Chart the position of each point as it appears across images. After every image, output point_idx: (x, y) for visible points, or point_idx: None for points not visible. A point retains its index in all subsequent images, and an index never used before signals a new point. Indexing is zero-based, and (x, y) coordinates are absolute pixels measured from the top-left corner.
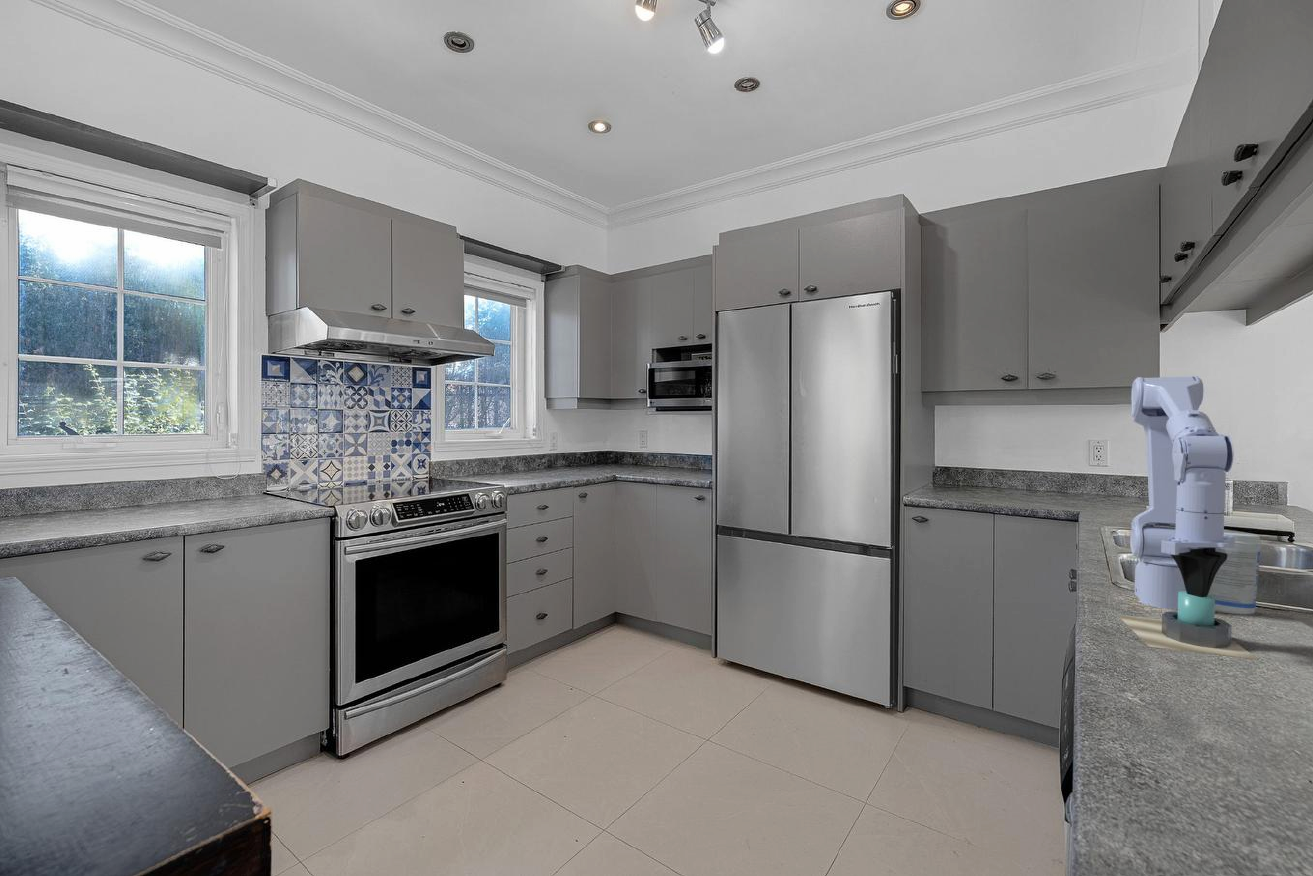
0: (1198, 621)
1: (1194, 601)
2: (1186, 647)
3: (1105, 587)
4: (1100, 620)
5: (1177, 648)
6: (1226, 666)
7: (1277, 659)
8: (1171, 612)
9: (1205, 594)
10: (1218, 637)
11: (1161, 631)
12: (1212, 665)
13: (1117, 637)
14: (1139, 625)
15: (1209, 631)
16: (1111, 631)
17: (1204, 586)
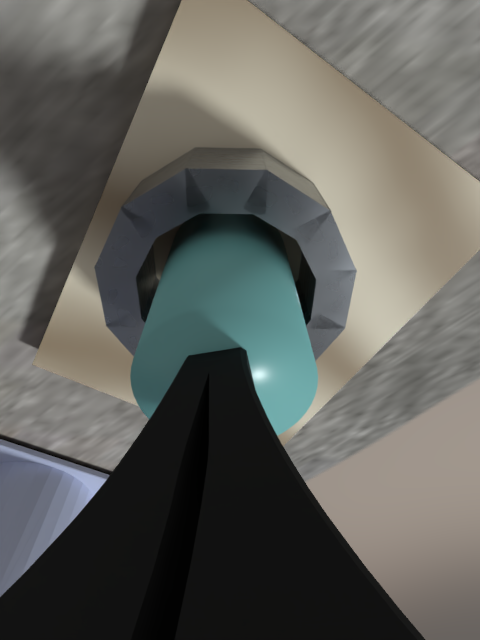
0: (274, 258)
1: (302, 329)
2: (380, 176)
3: None
4: (319, 447)
5: (429, 173)
6: (356, 3)
7: (20, 44)
8: None
9: (212, 359)
10: (248, 158)
11: None
12: (406, 28)
13: (429, 339)
14: None
15: (289, 180)
16: (387, 380)
17: (251, 391)
